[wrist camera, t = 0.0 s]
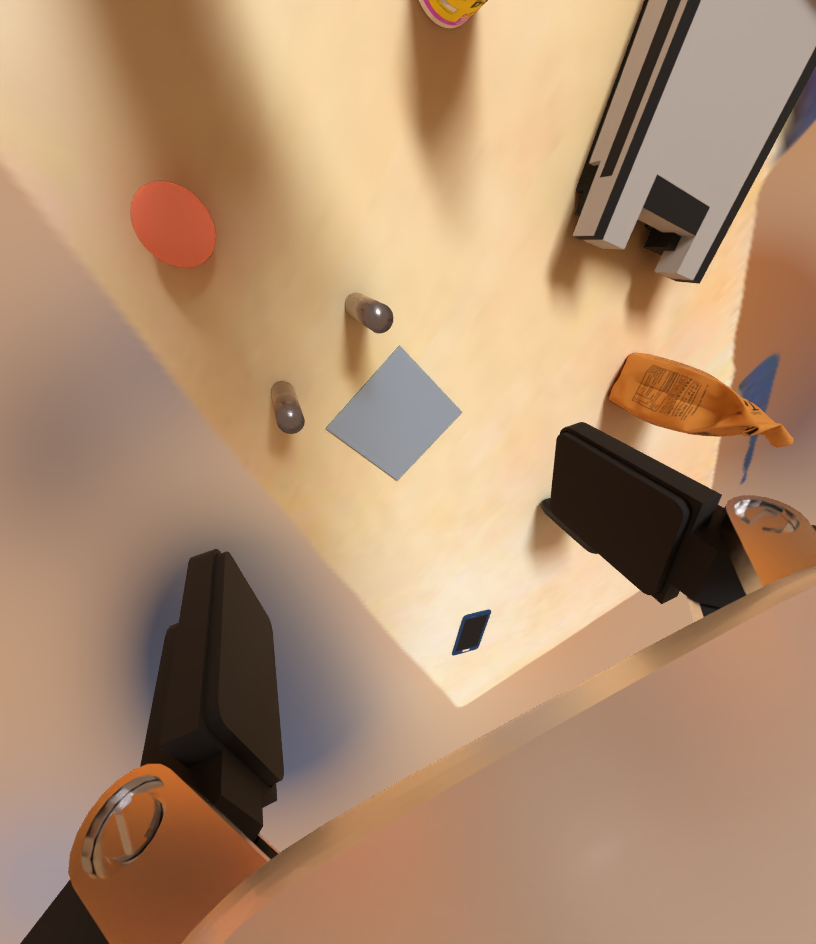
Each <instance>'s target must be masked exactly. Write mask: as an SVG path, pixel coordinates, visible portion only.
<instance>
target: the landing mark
mask: <svg viewBox="0 0 816 944" xmlns="http://www.w3.org/2000/svg"><path fill="white" fill-rule="evenodd" d="M461 413H462V411H461V410H460V409H459V408H458V407H457V406H456V405H455V404H454V403H453V402H452V401H451V400H450V399H449V398H448V397H447V395H446V394H445V393H444V392H443V391H442V390H441V389H440V388H439V387H438V386H437V385H436V384H435V383H434V382H433V381H432V379H431V378H430V377H429V376H428V375H427V374H426V373H425V372H424V371H423V370H422V369H421V368H420V367H419V366H418V365H417V364H416V362H415V361H414V360H413V359H412V358H411V357H410V356H409V355H408V354H407V353H406V352H405V351H404V350H403V349H402V348H401V346H399V347H398V348H397V349H396V350H395V351H394V352H393V353H392V354H391V356H390V357H389V358H388V359H387V360H386V361H385V362H384V363H383V365H382V366H381V367H380V368H379V369H378V370H377V371H376V372H375V374H374V375H373V376H372V377H371V378H370V379H369V380H368V381H367V383H366V384H365V385H364V386H363V387H362V388H361V389H360V390H359V392H358V393H357V394H356V395H355V396H354V397H353V398H352V399H351V401H350V402H349V403H348V404H347V405H346V406H345V407H344V409H343V410H342V411H341V412H340V413H339V414H338V415H337V416H336V418H335V419H334V420H333V421H332V422H331V423H330V424H329V425H328V427H327V428H326V429H327V430H328V431H330V432H331V433H333V434H334V435H335V436H337V437H338V438H339V439H341V440H342V441H344V442H345V443H346V444H348V445H349V446H350V447H352V448H353V449H355V450H356V451H357V452H359V453H360V454H361V455H363V456H364V457H365V458H367V459H368V460H370V461H371V462H372V463H374V464H375V465H376V466H378V467H379V468H381V469H382V470H383V471H385V472H386V473H387V474H389V475H390V476H392V477H393V478H394V479H396V480H398V479H399V478H400V477H401V476H402V475H403V474H404V473H405V472H406V471H407V470H408V469H409V468H410V467H411V466H412V465H413V464H414V463H415V461H416V460H417V459H418V458H419V457H420V456H421V455H422V454H423V453H424V452H425V451H426V450H427V449H428V448H429V447H430V446H431V445H432V444H433V443H434V441H435V440H436V439H437V438H438V437H439V436H440V435H441V434H442V433H443V432H444V431H445V430H446V429H447V428H448V427H449V426H450V425H451V424H452V423H453V421H454V420H455V419H456V418H457V417H458V416H459V415H460V414H461Z"/></svg>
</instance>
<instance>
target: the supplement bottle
mask: <svg viewBox="0 0 816 944" xmlns="http://www.w3.org/2000/svg"><path fill="white" fill-rule="evenodd" d="M487 1H488V0H419V2H420V4H421V6H422V8H423V10H424V11H425V13H426V14H427V15H428V16H429V18H430V19H431V20H432V21H433V22H435V23H436V24H437V25H439V26H441V27H444V28H455V27H458V26H460V25H462V24H463V23H465V22H466V21H467V20H468V19H469V18H470V17H472V15H474V14H475V13H476V12H477V11H478V10H479V9H480V8H481V7H482V6H483V5H484V4H485V3H486V2H487Z"/></svg>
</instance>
